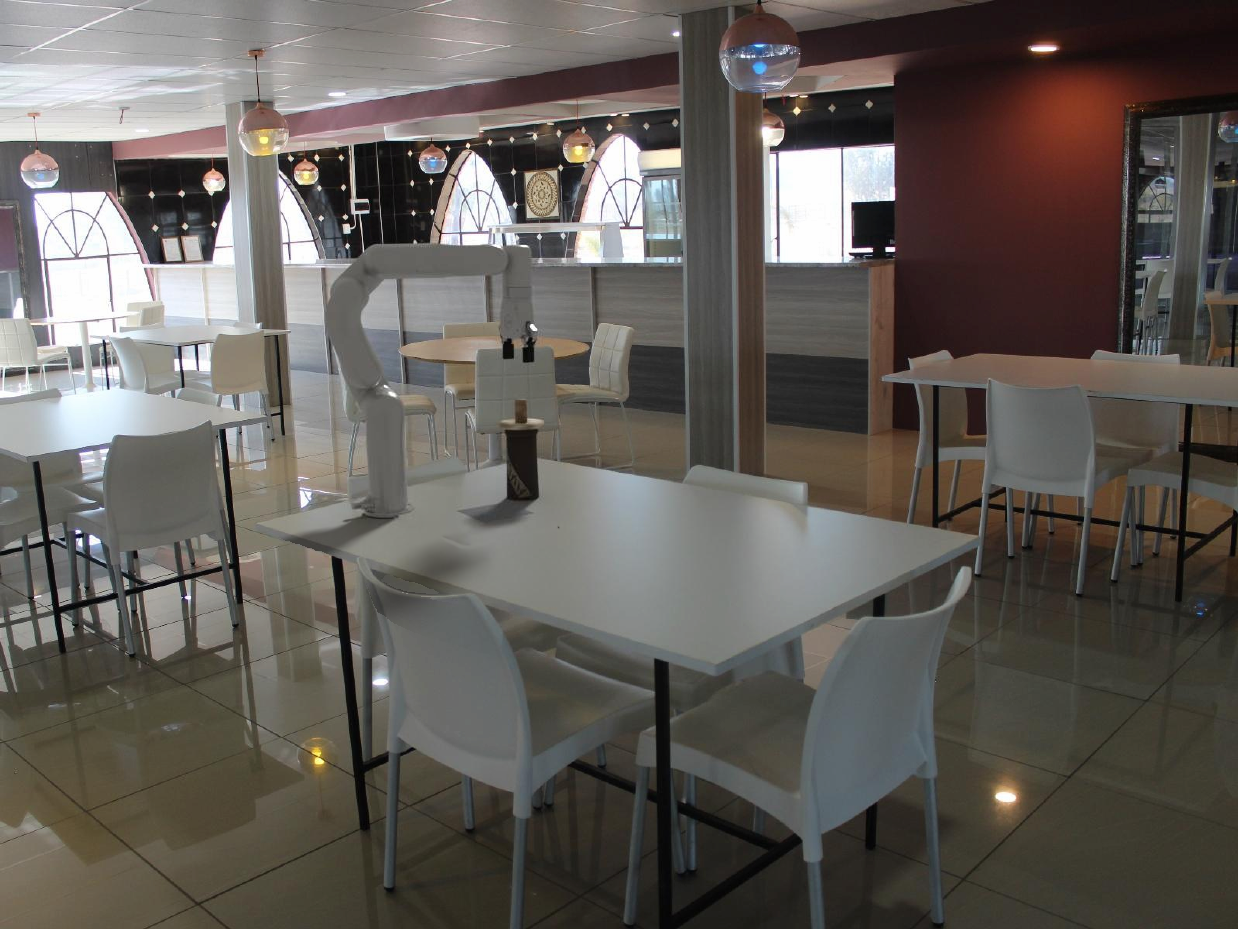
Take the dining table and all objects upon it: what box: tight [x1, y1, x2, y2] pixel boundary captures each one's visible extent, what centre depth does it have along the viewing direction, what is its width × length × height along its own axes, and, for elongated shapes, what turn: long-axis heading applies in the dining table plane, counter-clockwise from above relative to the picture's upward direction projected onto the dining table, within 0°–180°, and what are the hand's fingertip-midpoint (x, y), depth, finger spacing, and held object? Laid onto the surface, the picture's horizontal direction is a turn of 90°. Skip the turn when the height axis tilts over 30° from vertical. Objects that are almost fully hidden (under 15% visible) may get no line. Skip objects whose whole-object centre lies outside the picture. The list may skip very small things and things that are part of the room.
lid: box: [497, 398, 545, 430], centre depth 289 cm, size 12×12×7 cm
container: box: [504, 428, 540, 502], centre depth 292 cm, size 9×9×20 cm
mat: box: [457, 501, 534, 523], centre depth 279 cm, size 14×14×1 cm
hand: (518, 360), depth 286 cm, fingers open, 9 cm apart
